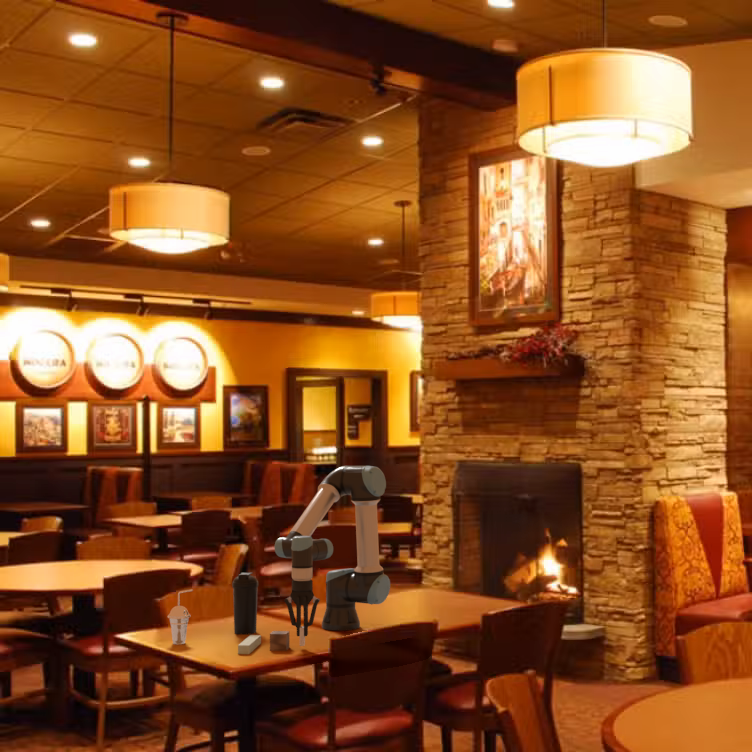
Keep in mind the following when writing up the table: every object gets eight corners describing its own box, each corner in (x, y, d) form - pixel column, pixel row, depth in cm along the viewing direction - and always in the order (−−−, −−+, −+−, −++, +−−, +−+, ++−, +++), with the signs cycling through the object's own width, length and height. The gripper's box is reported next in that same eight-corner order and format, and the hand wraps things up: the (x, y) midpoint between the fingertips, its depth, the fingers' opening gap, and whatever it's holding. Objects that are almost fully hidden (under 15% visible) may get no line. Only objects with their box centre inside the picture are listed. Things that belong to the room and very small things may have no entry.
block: (289, 647, 406) (289, 631, 406) (286, 651, 400) (286, 634, 400) (273, 647, 406) (273, 630, 407) (269, 650, 400) (269, 633, 401)
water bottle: (260, 630, 441) (260, 571, 442) (255, 635, 431) (255, 574, 432) (235, 630, 442) (235, 571, 443) (229, 634, 432) (229, 574, 433)
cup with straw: (176, 640, 421) (177, 586, 422) (196, 642, 417) (196, 588, 418) (162, 644, 413) (162, 589, 414) (182, 646, 409) (182, 591, 410)
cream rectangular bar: (260, 643, 414) (260, 635, 414) (249, 654, 394) (249, 645, 394) (250, 643, 414) (250, 635, 414) (238, 653, 394) (238, 645, 395)
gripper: (321, 578, 406) (321, 643, 405) (286, 577, 408) (286, 643, 407) (318, 580, 399) (318, 647, 398) (282, 580, 400) (282, 647, 399)
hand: (302, 645), depth 402 cm, fingers closed
